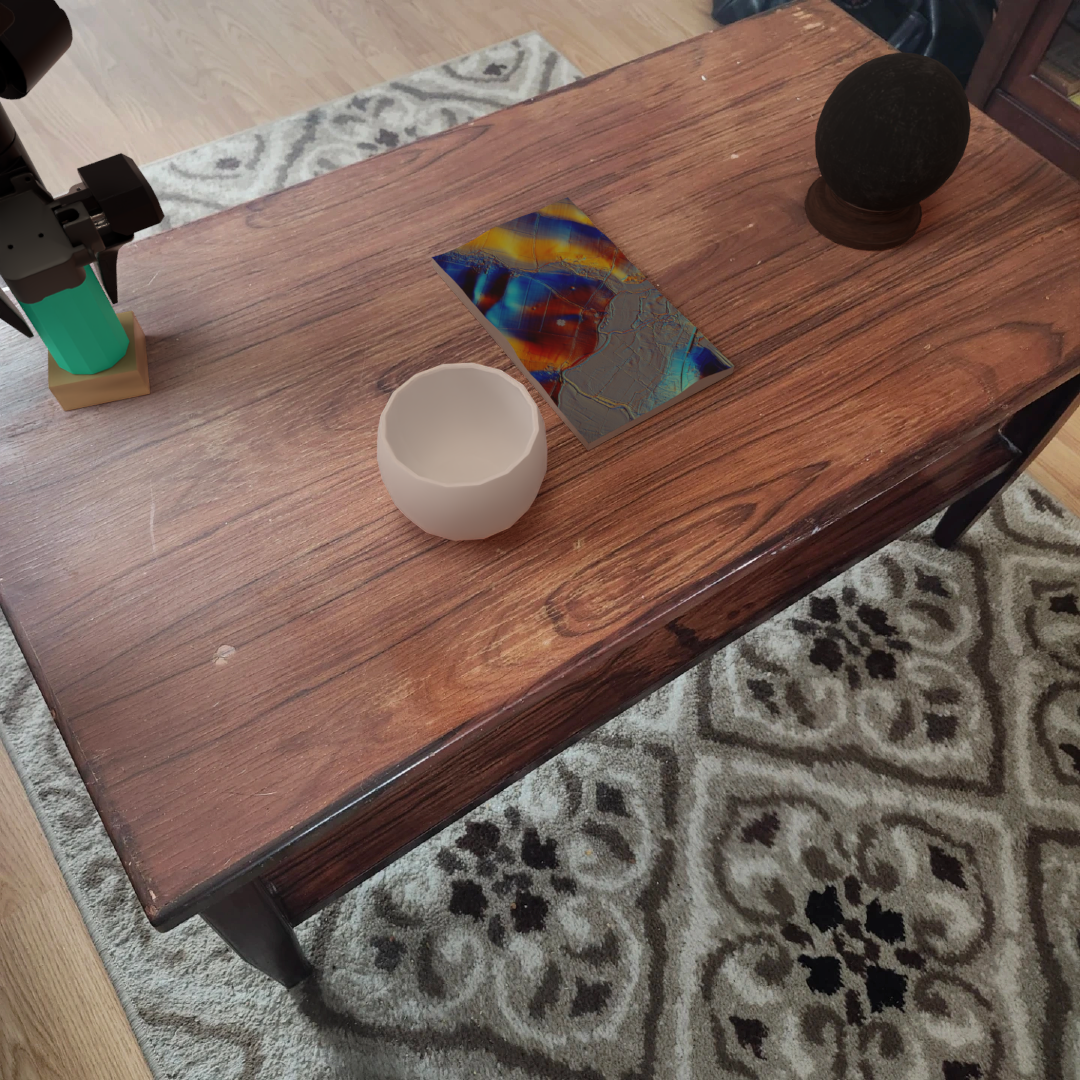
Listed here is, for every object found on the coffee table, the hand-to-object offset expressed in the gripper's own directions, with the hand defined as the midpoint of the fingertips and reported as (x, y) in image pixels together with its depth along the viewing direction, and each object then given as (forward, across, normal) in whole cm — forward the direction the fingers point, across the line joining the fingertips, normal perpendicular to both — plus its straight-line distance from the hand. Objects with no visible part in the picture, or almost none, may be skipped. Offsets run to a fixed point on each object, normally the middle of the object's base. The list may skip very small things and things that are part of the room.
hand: (72, 317), depth 72 cm
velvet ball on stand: (+6, +69, -20) cm, 73 cm away
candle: (+4, 0, 0) cm, 4 cm away
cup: (+7, +19, -28) cm, 35 cm away
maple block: (+7, 0, 0) cm, 7 cm away
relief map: (+7, +38, -17) cm, 42 cm away
